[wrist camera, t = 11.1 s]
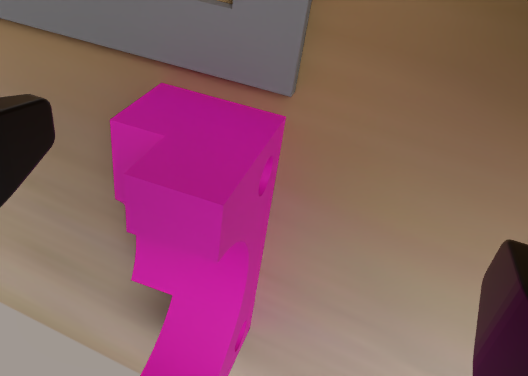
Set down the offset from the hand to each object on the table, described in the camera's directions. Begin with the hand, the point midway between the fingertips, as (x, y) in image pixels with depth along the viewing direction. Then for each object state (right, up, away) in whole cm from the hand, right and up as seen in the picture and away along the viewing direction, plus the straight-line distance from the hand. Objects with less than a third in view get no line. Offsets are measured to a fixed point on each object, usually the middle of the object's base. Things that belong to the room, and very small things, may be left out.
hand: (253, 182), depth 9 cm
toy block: (-3, -2, +18) cm, 18 cm away
